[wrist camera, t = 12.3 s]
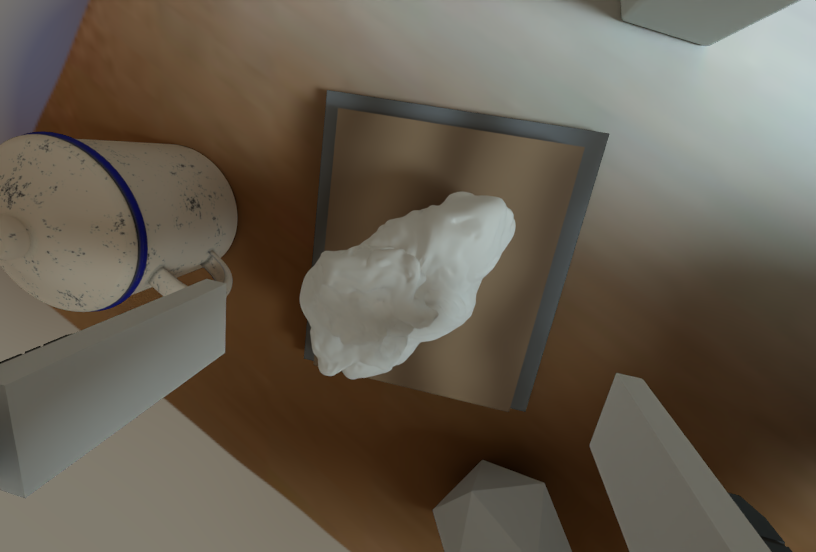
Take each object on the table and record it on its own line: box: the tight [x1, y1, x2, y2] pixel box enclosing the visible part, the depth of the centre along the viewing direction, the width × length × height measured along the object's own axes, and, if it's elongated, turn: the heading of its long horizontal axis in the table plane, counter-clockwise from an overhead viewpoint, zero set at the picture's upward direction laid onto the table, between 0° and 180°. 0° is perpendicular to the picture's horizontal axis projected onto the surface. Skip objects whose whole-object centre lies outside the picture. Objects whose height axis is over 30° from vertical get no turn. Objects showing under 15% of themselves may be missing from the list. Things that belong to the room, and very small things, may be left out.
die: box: [433, 460, 572, 552], centre depth 26 cm, size 8×9×10 cm
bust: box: [300, 192, 516, 379], centre depth 18 cm, size 12×8×11 cm
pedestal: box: [304, 90, 609, 412], centre depth 24 cm, size 16×18×3 cm
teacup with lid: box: [0, 132, 238, 312], centre depth 22 cm, size 12×9×12 cm
